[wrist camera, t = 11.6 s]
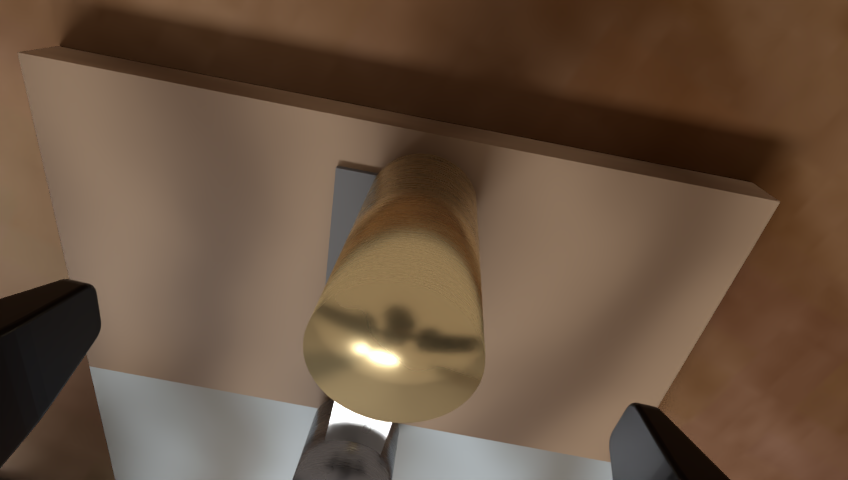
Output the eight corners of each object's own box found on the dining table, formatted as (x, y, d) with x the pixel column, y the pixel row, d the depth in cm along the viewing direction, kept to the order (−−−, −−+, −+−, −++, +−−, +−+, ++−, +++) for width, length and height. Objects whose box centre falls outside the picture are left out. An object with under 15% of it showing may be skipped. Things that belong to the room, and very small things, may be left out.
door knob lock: (388, 462, 20) (357, 658, 14) (308, 442, 19) (243, 633, 14) (495, 172, 13) (518, 313, 8) (378, 138, 13) (311, 258, 7)
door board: (144, 506, 26) (125, 537, 25) (58, 46, 15) (11, 53, 13) (534, 575, 26) (538, 611, 25) (752, 182, 15) (784, 204, 13)
